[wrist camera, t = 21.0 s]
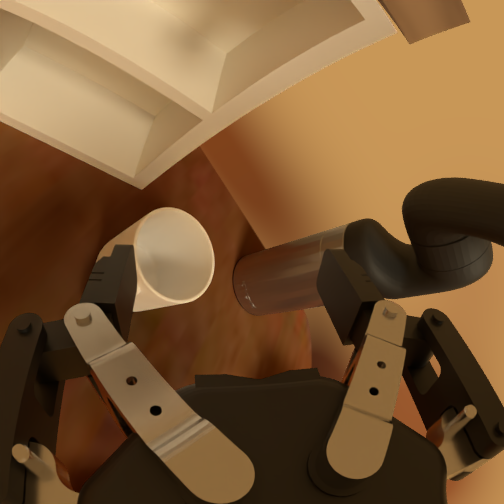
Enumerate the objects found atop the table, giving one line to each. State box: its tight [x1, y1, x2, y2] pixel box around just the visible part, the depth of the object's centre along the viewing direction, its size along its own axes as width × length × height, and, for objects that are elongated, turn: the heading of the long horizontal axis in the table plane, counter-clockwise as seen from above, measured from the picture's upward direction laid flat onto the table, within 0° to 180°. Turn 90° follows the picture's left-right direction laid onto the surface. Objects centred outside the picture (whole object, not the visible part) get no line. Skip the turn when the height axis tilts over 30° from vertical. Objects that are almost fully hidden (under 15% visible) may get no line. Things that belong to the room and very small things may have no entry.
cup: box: [96, 207, 214, 312], centre depth 28 cm, size 8×12×10 cm
